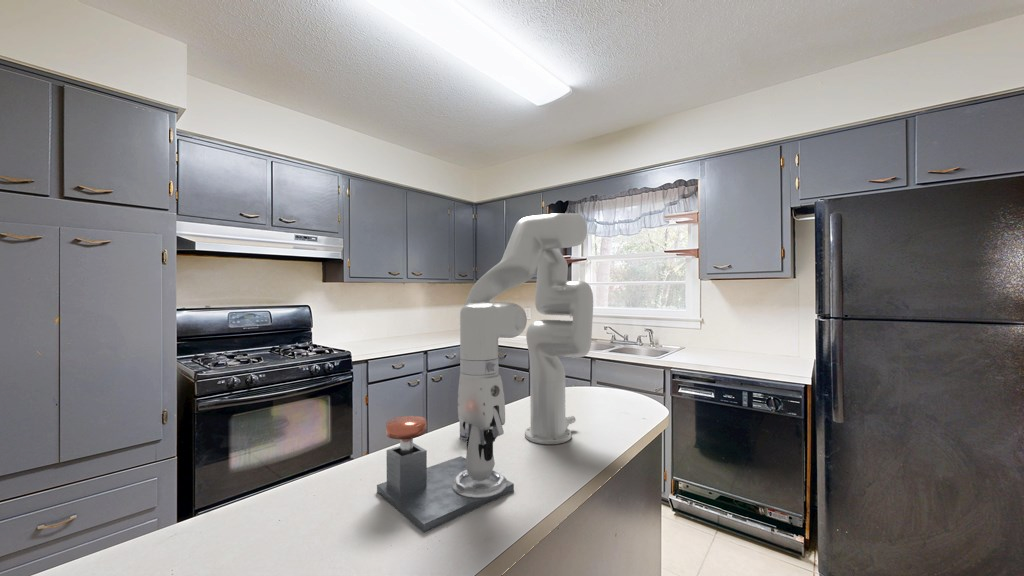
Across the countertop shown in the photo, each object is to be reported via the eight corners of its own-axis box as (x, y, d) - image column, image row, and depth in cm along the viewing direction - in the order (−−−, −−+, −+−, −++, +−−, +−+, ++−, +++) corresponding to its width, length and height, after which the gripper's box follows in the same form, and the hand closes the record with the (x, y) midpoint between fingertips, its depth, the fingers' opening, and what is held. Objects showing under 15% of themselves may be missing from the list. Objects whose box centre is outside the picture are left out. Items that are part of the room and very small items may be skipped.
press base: (462, 462, 92) (462, 425, 92) (518, 492, 78) (518, 448, 78) (376, 492, 78) (376, 449, 78) (426, 535, 64) (426, 482, 64)
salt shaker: (490, 484, 75) (490, 415, 75) (461, 481, 76) (461, 413, 76) (497, 470, 80) (497, 406, 80) (470, 468, 81) (470, 404, 82)
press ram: (414, 452, 83) (414, 413, 83) (433, 463, 77) (433, 422, 77) (379, 462, 77) (379, 421, 78) (397, 475, 72) (397, 431, 72)
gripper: (521, 370, 75) (522, 467, 75) (470, 359, 87) (470, 443, 87) (491, 376, 70) (491, 480, 70) (440, 363, 82) (441, 453, 82)
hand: (479, 459), depth 78 cm, fingers closed on salt shaker, 3 cm apart
